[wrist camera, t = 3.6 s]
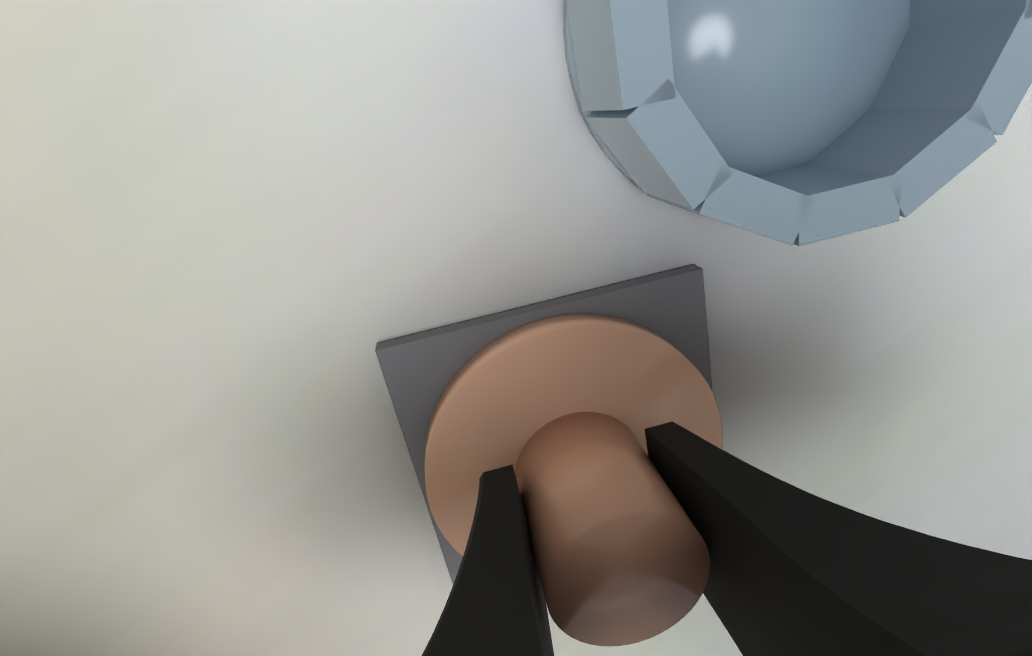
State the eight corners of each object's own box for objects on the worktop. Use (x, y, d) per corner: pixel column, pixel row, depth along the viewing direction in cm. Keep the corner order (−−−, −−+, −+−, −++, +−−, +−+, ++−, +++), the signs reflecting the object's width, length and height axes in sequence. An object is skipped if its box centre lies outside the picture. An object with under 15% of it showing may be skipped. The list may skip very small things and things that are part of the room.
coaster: (694, 264, 12) (702, 269, 12) (715, 514, 15) (722, 524, 14) (377, 343, 12) (375, 350, 11) (457, 587, 14) (458, 599, 14)
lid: (694, 280, 12) (817, 356, 8) (714, 521, 14) (815, 662, 11) (388, 356, 11) (372, 472, 8) (463, 591, 14) (478, 764, 10)
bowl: (930, -254, 10) (1135, -403, 7) (904, 168, 12) (1044, 184, 10) (527, -178, 9) (572, -306, 6) (592, 245, 12) (644, 284, 9)
